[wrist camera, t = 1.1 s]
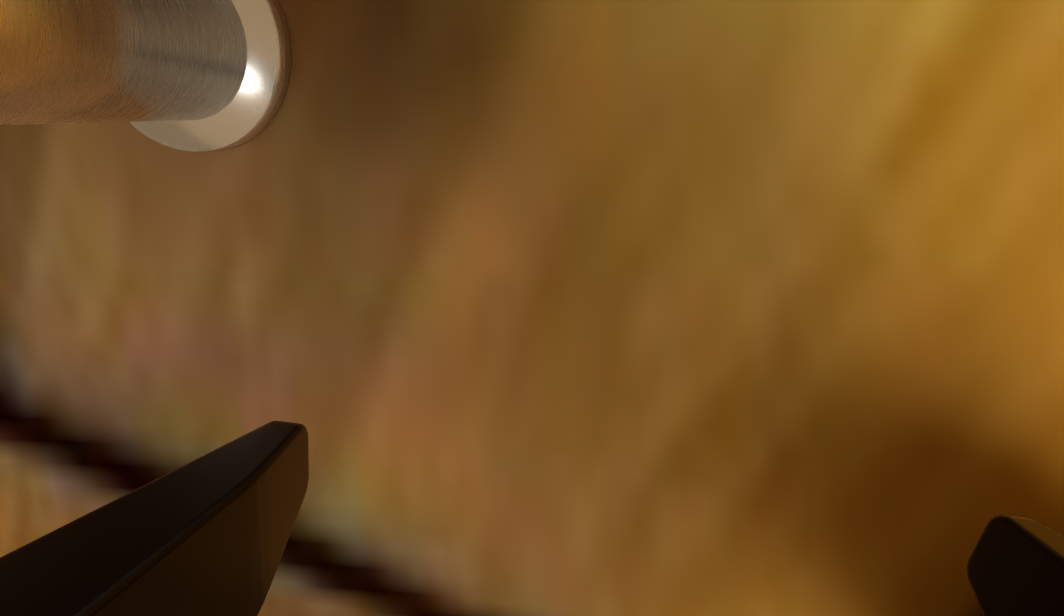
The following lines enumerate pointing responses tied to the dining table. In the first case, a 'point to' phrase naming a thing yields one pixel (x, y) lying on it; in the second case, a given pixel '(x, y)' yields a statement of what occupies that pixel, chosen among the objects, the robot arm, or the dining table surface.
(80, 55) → the stop pin
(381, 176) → the dining table surface
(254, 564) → the robot arm
